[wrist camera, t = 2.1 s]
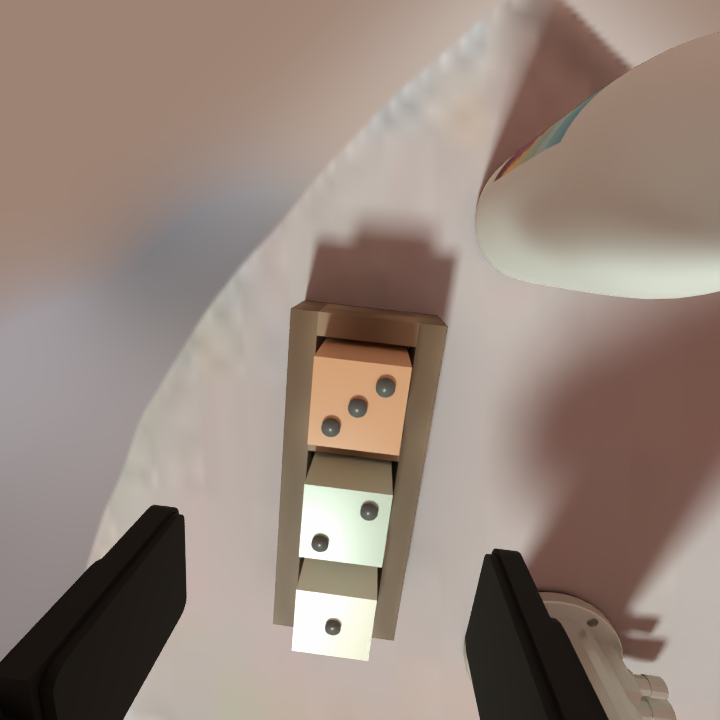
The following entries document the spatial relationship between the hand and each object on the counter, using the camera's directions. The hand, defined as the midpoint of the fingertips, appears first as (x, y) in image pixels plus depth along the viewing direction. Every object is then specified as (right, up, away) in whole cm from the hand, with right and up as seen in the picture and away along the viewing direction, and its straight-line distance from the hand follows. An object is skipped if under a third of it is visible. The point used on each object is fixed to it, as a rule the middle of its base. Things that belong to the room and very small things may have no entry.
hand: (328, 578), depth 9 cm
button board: (0, -2, +19) cm, 19 cm away
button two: (0, -3, +17) cm, 18 cm away
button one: (-1, -10, +19) cm, 22 cm away
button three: (+1, +4, +15) cm, 16 cm away
